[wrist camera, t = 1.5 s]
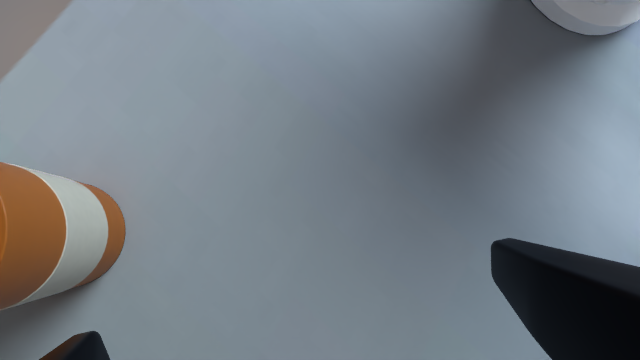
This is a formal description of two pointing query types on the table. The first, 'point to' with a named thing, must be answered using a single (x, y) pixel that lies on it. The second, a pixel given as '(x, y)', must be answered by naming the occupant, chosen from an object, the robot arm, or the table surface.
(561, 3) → the decorative container
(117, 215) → the sanitizer bottle
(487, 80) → the table surface
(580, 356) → the robot arm
